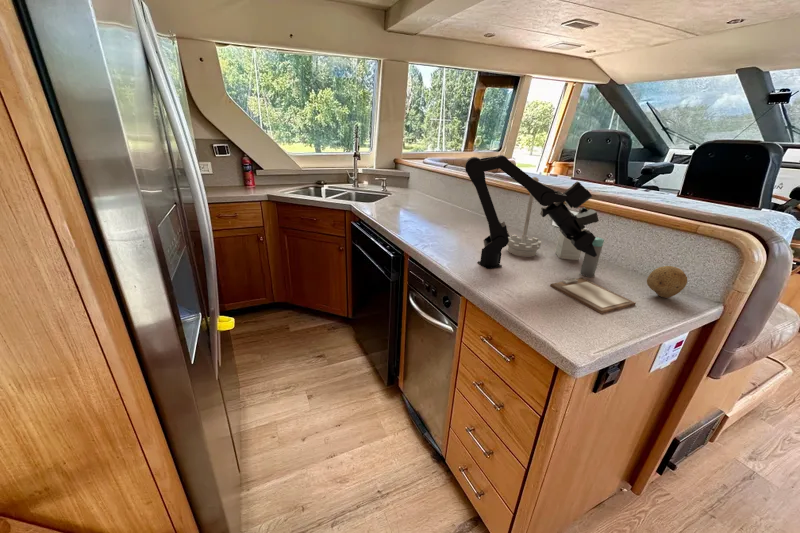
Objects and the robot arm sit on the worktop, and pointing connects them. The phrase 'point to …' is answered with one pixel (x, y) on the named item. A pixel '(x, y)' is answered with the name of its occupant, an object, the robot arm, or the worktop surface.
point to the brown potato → (667, 281)
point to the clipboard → (592, 295)
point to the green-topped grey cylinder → (592, 259)
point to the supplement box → (567, 248)
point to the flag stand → (524, 237)
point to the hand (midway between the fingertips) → (590, 251)
